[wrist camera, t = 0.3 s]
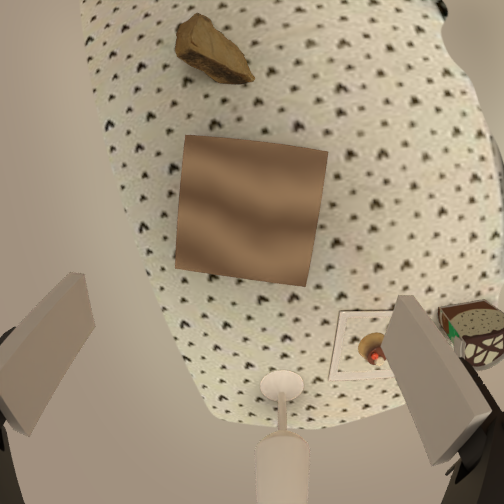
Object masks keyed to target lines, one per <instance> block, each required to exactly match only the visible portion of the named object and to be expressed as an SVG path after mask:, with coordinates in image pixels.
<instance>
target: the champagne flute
mask: <svg viewBox="0 0 504 504" xmlns="http://www.w3.org/2000/svg"><path fill="white" fill-rule="evenodd" d="M303 388H304V383H303V380H302V378H301V377H300V376H299V375H298V374H296V373H294V372H292V371H287V370H278V371H274V372H271V373H269V374H267V375H266V376H265V377H264V378H263V379H262V381H261V383H260V389H261V392H262V393H263V395H264V396H265V397H267V398H268V399H271V400H274V401H278V431H276V432H274V433H271V434H269V435H267V436H266V437H264V438H263V439H262V440H261V441H260V442H259V443H258V445H257V446H256V448H255V473H256V497H257V504H307V501H308V485H309V468H310V447H309V445H308V443H307V442H306V441H305V440H304V439H303V438H302V437H301V436H299V435H298V434H296V433H293V432H290V431H287V410H286V401H289V400H292V399H294V398H296V397H297V396H299V395H300V394H301V392H302V391H303Z"/></svg>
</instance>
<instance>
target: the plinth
mask: <svg viewBox="0 0 504 504" xmlns="http://www.w3.org/2000/svg"><path fill="white" fill-rule="evenodd" d="M327 157H328V152H327V151H321V150H315V149H309V148H303V147H296V146H290V145H283V144H275V143H268V142H260V141H251V140H242V139H232V138H221V137H209V136H195V135H185V143H184V152H183V162H182V172H181V183H180V194H179V207H178V221H177V237H176V257H175V268H176V269H182V270H189V271H195V272H202V273H209V274H215V275H222V276H229V277H236V278H243V279H250V280H258V281H265V282H272V283H280V284H287V285H295V286H303V287H306V282H307V277H308V272H309V267H310V262H311V256H312V251H313V245H314V240H315V234H316V228H317V222H318V216H319V210H320V204H321V198H322V191H323V185H324V178H325V171H326V164H327Z"/></svg>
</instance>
